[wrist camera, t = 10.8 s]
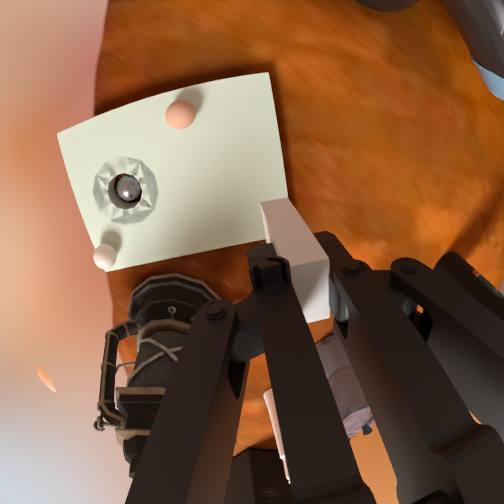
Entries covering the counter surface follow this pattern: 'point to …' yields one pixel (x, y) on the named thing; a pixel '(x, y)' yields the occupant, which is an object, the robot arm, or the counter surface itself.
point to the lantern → (148, 356)
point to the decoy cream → (105, 256)
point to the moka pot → (345, 387)
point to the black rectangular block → (258, 479)
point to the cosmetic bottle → (275, 426)
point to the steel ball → (128, 188)
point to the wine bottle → (470, 282)
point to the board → (179, 171)
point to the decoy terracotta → (180, 114)
